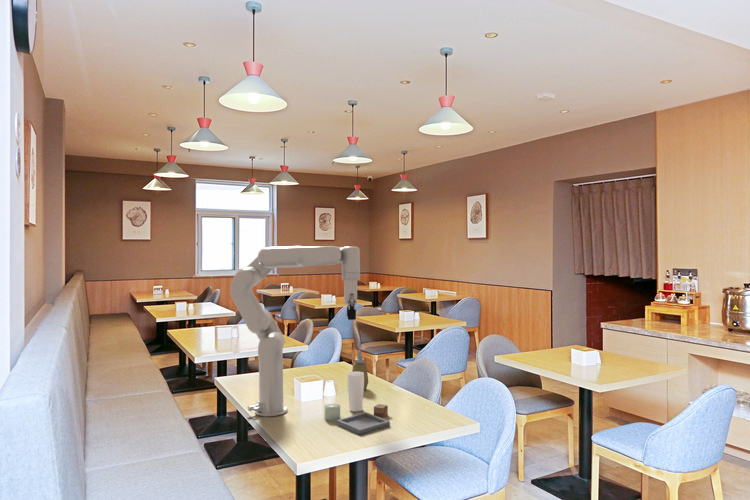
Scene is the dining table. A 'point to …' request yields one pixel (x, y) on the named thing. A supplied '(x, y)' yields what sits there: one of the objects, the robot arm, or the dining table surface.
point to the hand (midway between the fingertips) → (351, 318)
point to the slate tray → (363, 423)
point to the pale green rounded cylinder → (332, 412)
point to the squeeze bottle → (361, 368)
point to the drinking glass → (355, 390)
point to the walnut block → (381, 410)
